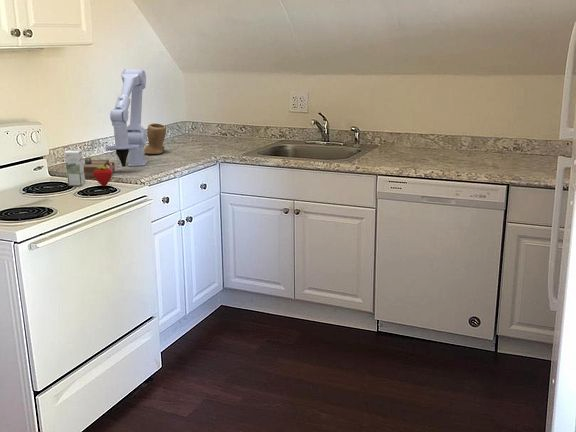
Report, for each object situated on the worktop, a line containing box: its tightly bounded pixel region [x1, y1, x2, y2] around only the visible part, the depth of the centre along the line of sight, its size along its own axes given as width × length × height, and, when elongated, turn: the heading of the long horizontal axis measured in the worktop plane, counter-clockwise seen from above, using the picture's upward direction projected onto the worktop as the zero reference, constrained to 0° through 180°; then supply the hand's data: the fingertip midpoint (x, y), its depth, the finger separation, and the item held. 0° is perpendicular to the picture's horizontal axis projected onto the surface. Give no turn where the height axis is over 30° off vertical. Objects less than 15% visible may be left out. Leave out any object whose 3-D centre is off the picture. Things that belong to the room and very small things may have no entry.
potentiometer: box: [84, 154, 92, 164], centre depth 283 cm, size 3×3×4 cm
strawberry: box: [93, 162, 113, 187], centre depth 263 cm, size 6×8×10 cm
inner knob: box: [107, 161, 116, 172], centre depth 288 cm, size 4×12×4 cm, turn 95°
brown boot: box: [144, 122, 167, 155], centre depth 328 cm, size 15×12×15 cm
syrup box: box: [64, 148, 86, 187], centre depth 266 cm, size 6×6×14 cm
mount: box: [83, 159, 110, 180], centre depth 285 cm, size 15×9×5 cm, turn 5°
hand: (123, 166), depth 289 cm, fingers closed
